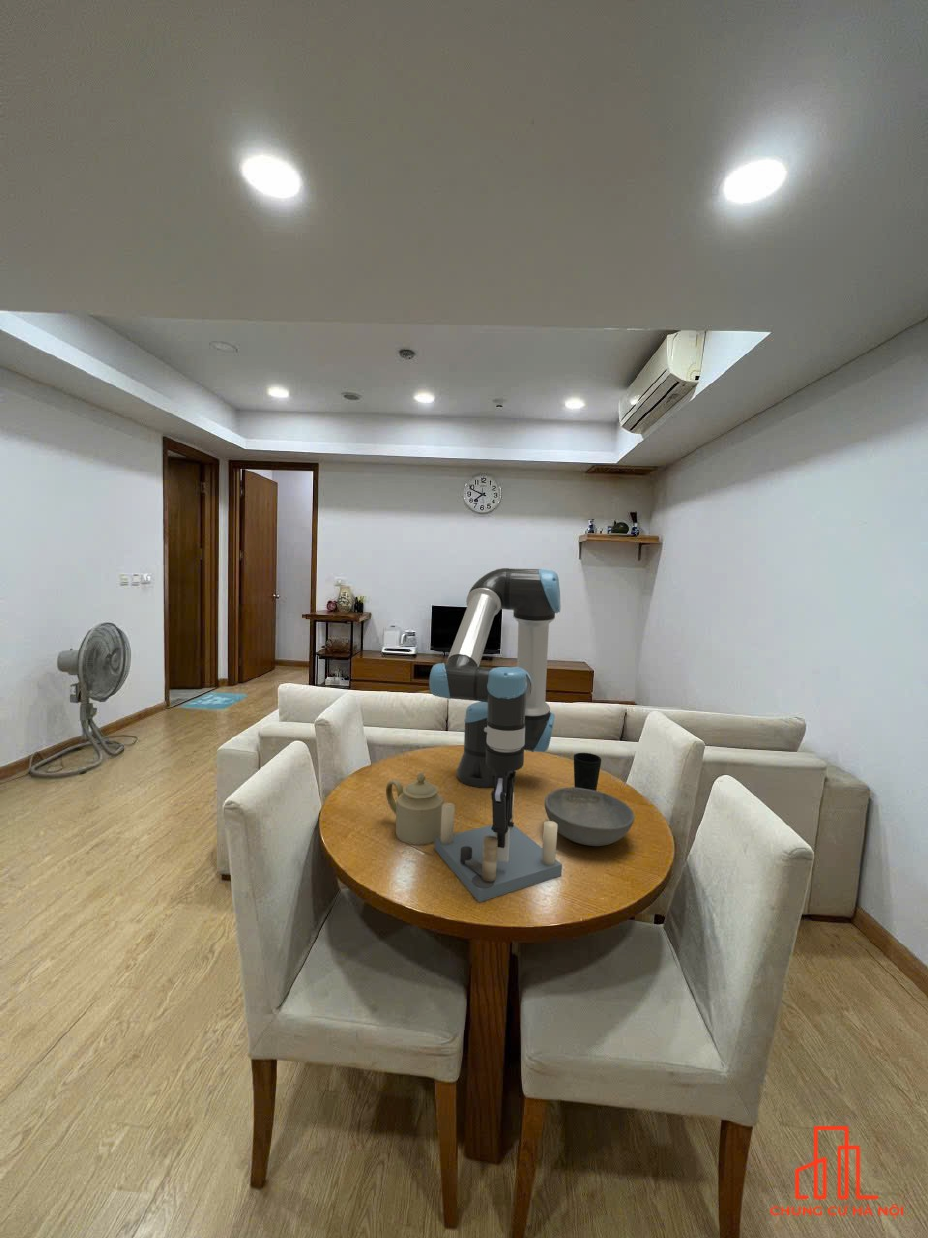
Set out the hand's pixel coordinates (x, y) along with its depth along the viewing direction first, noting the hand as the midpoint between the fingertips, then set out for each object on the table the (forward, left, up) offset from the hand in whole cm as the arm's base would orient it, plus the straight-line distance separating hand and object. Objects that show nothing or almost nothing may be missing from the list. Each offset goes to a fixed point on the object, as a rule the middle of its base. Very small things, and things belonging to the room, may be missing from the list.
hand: (501, 859), depth 100 cm
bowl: (-6, +29, -5) cm, 30 cm away
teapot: (-25, -9, -5) cm, 27 cm away
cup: (-22, +43, -5) cm, 49 cm away
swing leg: (-2, -5, -2) cm, 5 cm away
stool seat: (-6, +3, -5) cm, 8 cm away
